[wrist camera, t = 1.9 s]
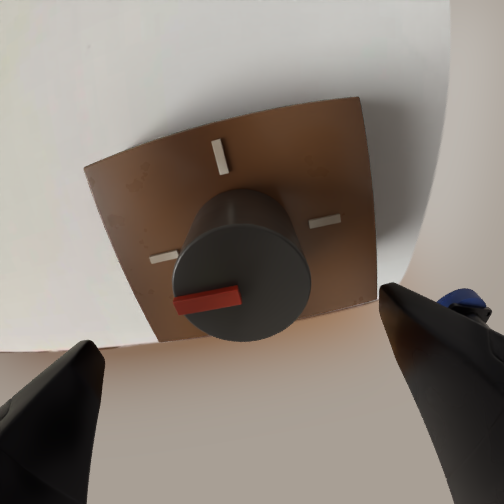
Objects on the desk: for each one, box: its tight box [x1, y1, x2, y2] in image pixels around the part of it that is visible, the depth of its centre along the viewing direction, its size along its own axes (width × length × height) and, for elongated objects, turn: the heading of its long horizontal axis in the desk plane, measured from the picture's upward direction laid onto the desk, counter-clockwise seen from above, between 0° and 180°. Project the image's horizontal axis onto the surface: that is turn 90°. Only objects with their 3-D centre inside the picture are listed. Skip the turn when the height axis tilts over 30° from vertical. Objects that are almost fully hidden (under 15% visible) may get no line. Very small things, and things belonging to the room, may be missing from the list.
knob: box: [172, 189, 312, 342], centre depth 11 cm, size 4×4×4 cm
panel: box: [84, 97, 377, 342], centre depth 15 cm, size 12×10×5 cm
